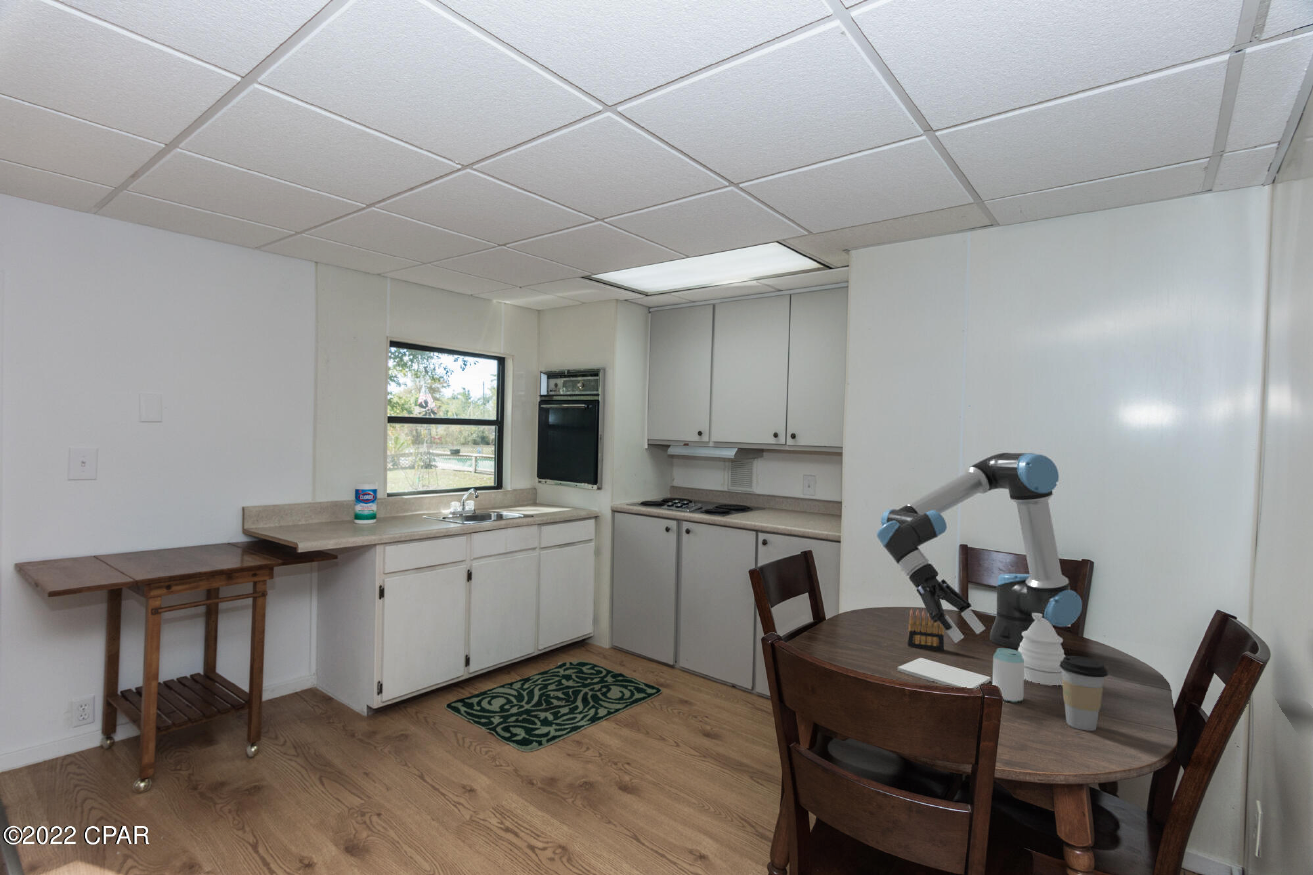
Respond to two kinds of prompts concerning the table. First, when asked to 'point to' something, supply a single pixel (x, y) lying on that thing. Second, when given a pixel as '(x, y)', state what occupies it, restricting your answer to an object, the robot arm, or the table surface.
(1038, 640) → the honey pot
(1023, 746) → the table surface
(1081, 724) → the coffee cup
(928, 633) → the ammunition clip
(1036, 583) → the robot arm
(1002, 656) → the can
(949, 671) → the mat
